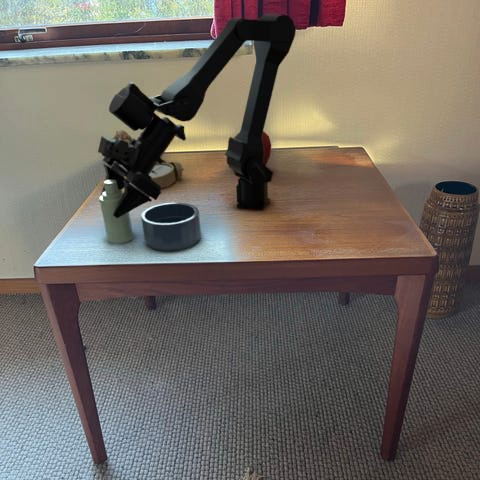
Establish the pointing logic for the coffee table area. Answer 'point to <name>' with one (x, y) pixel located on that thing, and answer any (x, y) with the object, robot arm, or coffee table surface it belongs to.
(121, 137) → the lion figurine
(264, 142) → the apple
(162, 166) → the alarm clock
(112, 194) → the capped bottle
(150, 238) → the pot
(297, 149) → the coffee table surface
